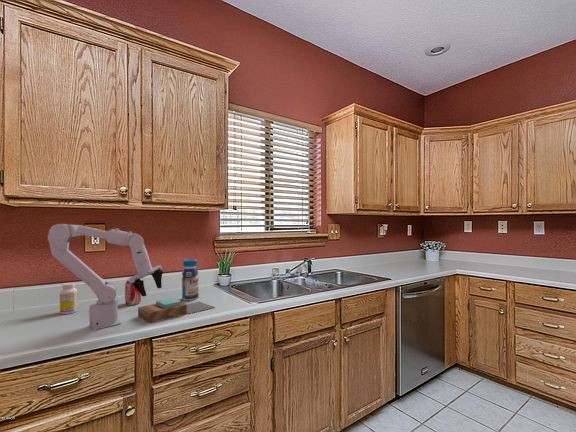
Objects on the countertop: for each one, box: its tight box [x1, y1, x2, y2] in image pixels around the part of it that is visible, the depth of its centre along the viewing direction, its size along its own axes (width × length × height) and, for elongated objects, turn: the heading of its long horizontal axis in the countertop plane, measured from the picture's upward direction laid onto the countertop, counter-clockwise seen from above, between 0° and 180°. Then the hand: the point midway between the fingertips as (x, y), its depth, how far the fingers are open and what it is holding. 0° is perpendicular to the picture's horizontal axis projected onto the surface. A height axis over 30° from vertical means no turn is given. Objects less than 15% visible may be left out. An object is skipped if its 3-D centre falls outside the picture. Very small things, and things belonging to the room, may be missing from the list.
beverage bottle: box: [181, 258, 199, 301], centre depth 162 cm, size 8×8×20 cm
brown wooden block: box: [137, 302, 188, 324], centre depth 134 cm, size 16×12×4 cm
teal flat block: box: [155, 297, 182, 308], centre depth 136 cm, size 7×9×2 cm
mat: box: [186, 301, 216, 315], centre depth 145 cm, size 13×14×1 cm
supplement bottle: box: [59, 282, 79, 315], centre depth 140 cm, size 7×7×13 cm
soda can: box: [124, 278, 142, 306], centre depth 153 cm, size 7×7×12 cm
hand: (152, 291), depth 131 cm, fingers open, 7 cm apart
